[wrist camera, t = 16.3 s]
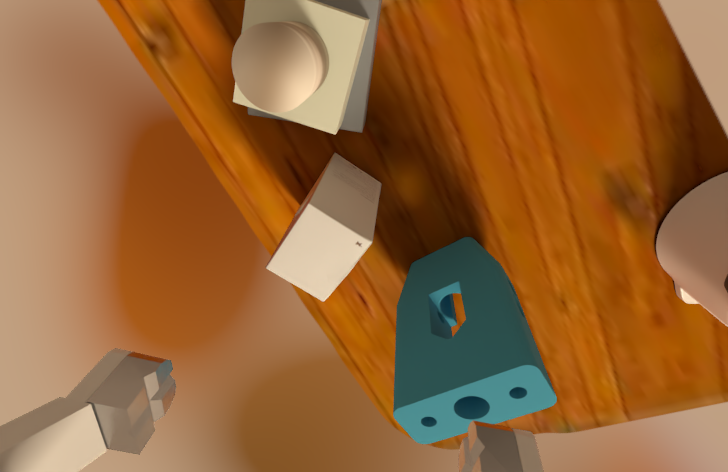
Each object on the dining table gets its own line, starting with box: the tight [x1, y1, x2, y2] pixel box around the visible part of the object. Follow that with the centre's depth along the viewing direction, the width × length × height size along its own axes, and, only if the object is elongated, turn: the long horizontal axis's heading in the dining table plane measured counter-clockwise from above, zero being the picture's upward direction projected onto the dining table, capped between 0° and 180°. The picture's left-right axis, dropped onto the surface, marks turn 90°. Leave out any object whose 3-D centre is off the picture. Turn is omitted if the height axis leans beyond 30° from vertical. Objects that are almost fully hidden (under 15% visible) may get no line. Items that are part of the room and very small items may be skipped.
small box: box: [266, 153, 382, 301], centre depth 39 cm, size 8×6×13 cm
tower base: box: [248, 0, 382, 133], centre depth 37 cm, size 11×11×4 cm
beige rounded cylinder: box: [232, 21, 329, 113], centre depth 29 cm, size 6×6×6 cm
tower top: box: [233, 0, 370, 135], centre depth 33 cm, size 9×9×4 cm
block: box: [393, 237, 557, 444], centre depth 39 cm, size 12×5×20 cm, turn 124°
